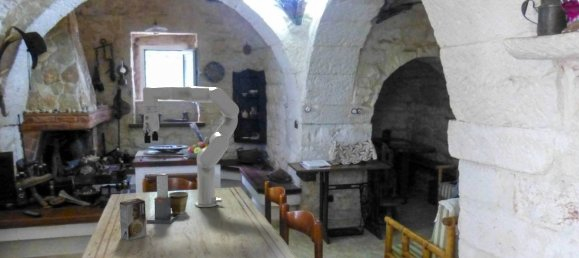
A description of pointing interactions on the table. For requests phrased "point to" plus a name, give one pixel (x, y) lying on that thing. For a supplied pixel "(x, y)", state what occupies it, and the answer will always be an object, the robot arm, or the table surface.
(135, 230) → the coffee box
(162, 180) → the steel post
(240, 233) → the table surface
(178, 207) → the ceramic cup
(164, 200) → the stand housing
